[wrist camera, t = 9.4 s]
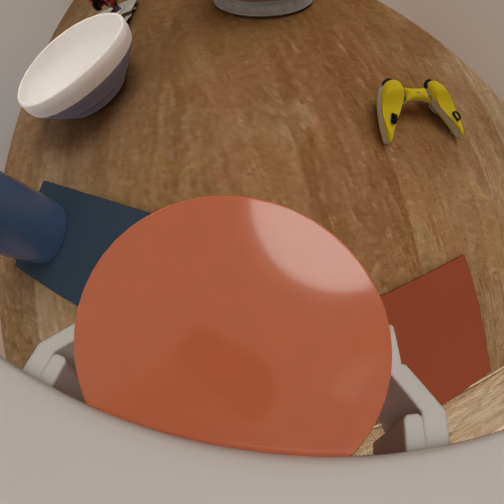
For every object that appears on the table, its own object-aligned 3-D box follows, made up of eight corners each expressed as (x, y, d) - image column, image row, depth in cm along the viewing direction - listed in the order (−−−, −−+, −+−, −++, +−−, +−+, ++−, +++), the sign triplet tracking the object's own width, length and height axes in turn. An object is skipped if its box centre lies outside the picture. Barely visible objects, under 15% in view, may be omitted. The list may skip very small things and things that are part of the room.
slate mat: (321, 268, 22) (322, 267, 21) (279, 390, 20) (279, 392, 20) (45, 181, 25) (43, 180, 25) (17, 265, 24) (14, 265, 24)
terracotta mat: (387, 433, 19) (388, 435, 18) (350, 308, 21) (351, 308, 21) (488, 370, 19) (490, 370, 18) (461, 255, 21) (464, 254, 20)
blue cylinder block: (28, 272, 23) (-40, 259, 14) (24, 215, 24) (-36, 189, 15) (70, 250, 23) (-3, 227, 14) (64, 189, 24) (2, 151, 15)
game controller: (433, 85, 23) (451, 77, 19) (449, 139, 24) (468, 135, 21) (359, 86, 23) (373, 74, 20) (376, 147, 24) (393, 142, 21)
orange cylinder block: (215, 404, 14) (142, 510, 4) (173, 286, 15) (48, 260, 6) (337, 365, 14) (419, 445, 4) (294, 243, 15) (320, 150, 6)
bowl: (138, 36, 28) (118, -2, 21) (160, 96, 26) (134, 47, 18) (51, 90, 28) (23, 61, 21) (52, 163, 26) (10, 134, 18)
